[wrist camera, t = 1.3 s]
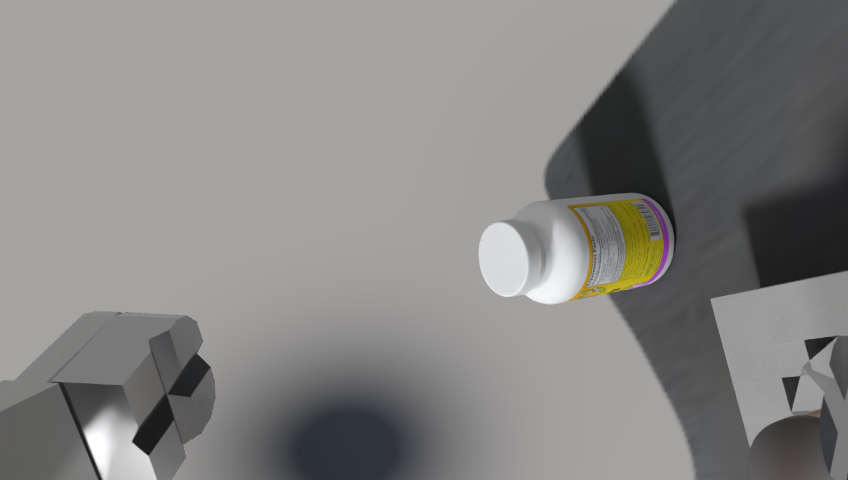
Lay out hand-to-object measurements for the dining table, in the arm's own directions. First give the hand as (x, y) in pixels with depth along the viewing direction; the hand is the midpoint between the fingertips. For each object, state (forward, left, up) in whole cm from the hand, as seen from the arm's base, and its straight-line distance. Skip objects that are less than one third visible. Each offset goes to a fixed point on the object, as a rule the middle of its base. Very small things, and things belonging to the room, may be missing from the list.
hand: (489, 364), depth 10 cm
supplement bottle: (+27, -5, -37) cm, 46 cm away
